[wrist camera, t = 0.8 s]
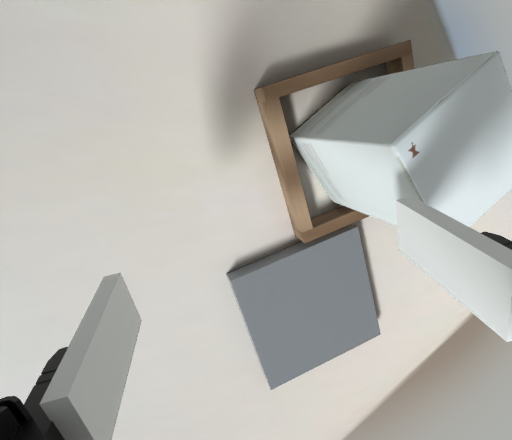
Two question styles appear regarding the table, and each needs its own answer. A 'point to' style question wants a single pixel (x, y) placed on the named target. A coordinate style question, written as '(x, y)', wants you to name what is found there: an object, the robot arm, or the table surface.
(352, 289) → the slate trivet
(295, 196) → the walnut holder
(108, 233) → the table surface
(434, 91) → the supplement box
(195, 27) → the table surface
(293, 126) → the table surface
